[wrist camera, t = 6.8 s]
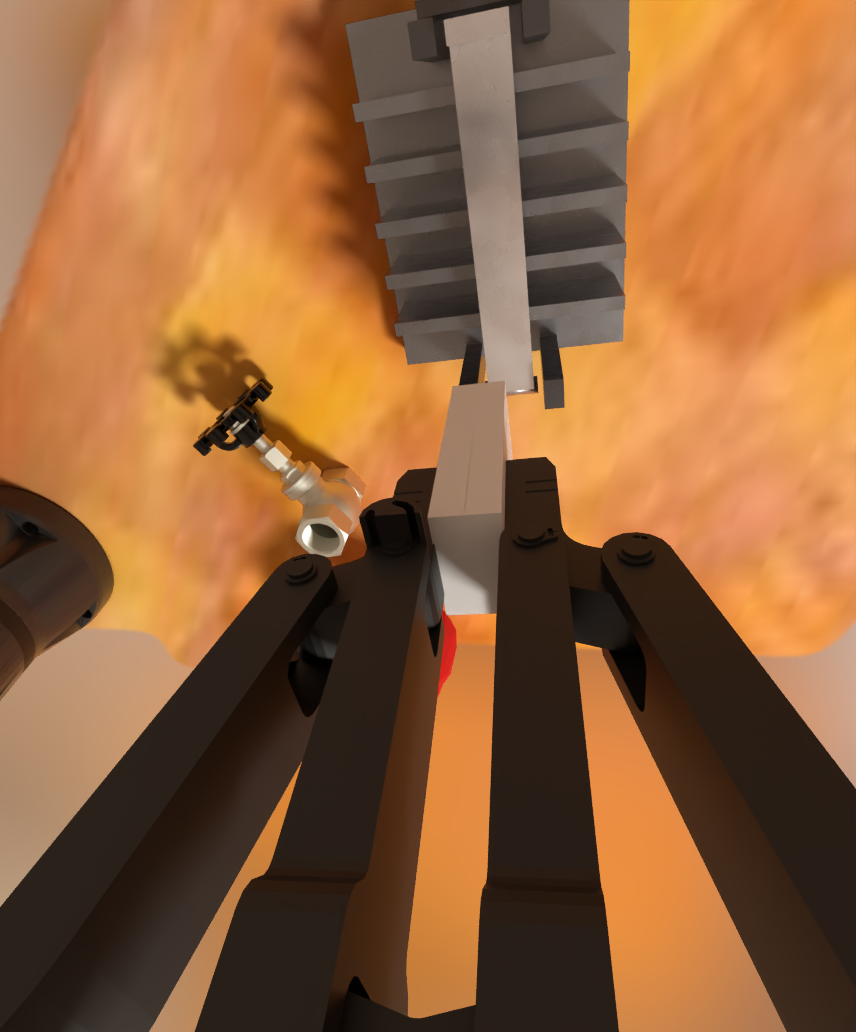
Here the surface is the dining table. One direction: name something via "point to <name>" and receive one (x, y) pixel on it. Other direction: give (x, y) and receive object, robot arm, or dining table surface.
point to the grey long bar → (493, 190)
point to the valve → (293, 475)
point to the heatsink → (543, 175)
